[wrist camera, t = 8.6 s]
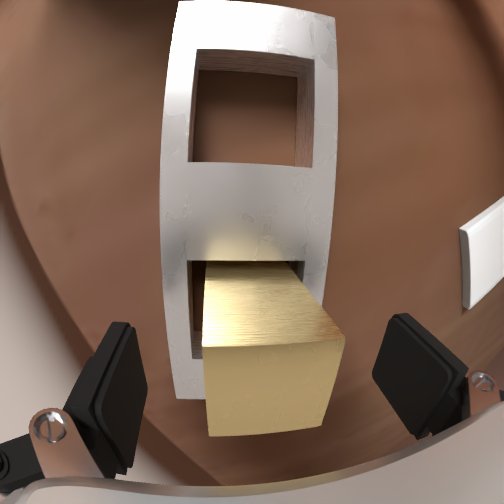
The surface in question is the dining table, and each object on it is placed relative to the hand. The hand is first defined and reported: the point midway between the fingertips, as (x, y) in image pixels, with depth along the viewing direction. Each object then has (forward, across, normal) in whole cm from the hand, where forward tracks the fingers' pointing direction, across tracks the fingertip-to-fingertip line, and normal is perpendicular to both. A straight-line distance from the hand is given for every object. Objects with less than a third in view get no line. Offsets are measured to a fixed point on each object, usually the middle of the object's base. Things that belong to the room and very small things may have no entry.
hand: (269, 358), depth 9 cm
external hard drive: (+9, -25, -3) cm, 26 cm away
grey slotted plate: (+8, 0, -4) cm, 9 cm away
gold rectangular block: (+8, 0, +1) cm, 8 cm away
